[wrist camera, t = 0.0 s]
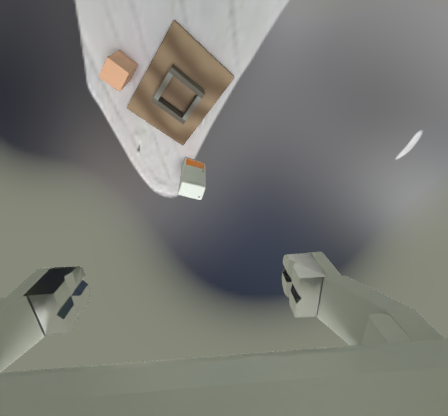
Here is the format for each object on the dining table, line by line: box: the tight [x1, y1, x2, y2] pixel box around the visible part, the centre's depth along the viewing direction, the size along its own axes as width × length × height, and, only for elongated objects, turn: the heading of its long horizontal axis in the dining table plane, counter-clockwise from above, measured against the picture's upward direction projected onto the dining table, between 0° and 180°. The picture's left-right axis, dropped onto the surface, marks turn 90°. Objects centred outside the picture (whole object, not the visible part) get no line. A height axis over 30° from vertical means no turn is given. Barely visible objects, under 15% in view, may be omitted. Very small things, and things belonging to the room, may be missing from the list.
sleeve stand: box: [127, 20, 234, 145], centre depth 51 cm, size 20×15×5 cm
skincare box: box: [178, 157, 206, 200], centre depth 61 cm, size 6×4×12 cm
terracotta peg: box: [99, 50, 138, 92], centre depth 46 cm, size 4×4×8 cm
